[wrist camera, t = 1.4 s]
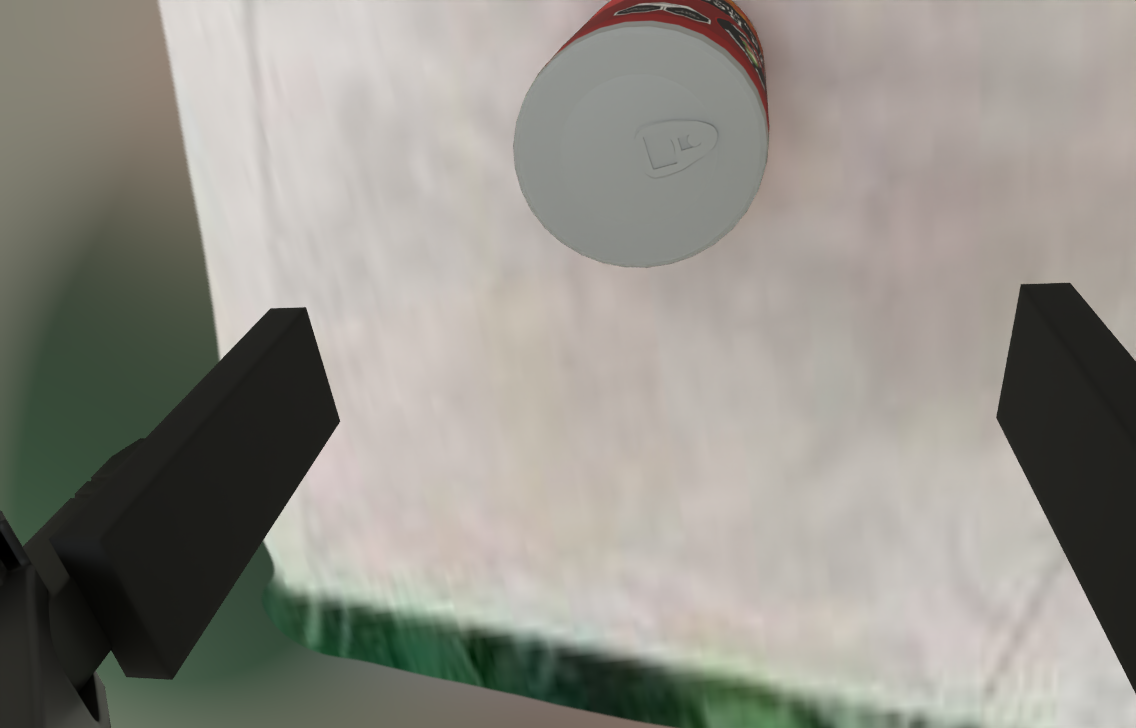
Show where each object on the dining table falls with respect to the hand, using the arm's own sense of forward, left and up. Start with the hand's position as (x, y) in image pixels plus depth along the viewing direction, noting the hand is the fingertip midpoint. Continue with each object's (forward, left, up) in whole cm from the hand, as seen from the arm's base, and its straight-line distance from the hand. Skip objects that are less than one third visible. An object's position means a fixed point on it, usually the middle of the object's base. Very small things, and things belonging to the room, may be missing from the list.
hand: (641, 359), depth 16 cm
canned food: (+1, 0, -23) cm, 23 cm away
